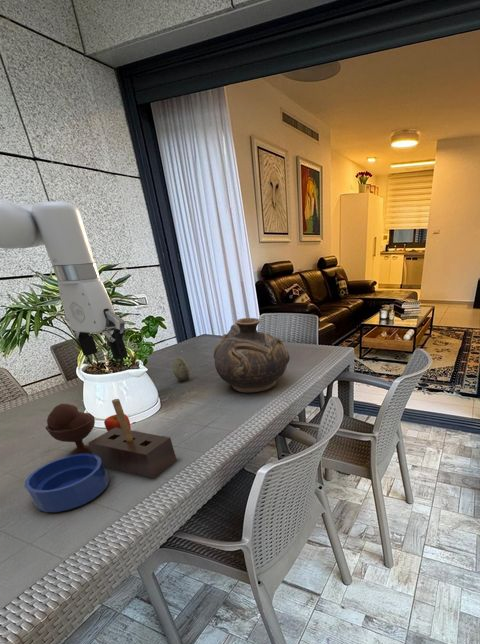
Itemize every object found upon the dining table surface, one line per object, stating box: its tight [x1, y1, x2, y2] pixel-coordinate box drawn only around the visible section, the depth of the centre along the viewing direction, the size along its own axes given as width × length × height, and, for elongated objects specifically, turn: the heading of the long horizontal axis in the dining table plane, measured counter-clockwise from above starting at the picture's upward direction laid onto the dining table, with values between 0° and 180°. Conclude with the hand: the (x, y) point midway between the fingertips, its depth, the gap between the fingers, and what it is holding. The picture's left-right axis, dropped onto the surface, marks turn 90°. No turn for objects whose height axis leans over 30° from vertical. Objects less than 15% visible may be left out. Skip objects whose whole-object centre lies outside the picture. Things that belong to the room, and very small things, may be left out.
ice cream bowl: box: [45, 403, 96, 455], centre depth 94 cm, size 11×11×15 cm
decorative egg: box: [172, 356, 191, 382], centre depth 141 cm, size 6×6×10 cm
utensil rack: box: [88, 427, 177, 479], centre depth 90 cm, size 19×8×7 cm, turn 70°
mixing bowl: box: [24, 453, 110, 513], centre depth 80 cm, size 15×15×6 cm
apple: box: [103, 413, 132, 432], centre depth 101 cm, size 6×6×8 cm
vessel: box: [213, 317, 291, 393], centre depth 131 cm, size 27×28×25 cm
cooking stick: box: [111, 398, 133, 443], centre depth 87 cm, size 2×2×18 cm
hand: (105, 356), depth 79 cm, fingers open, 9 cm apart
